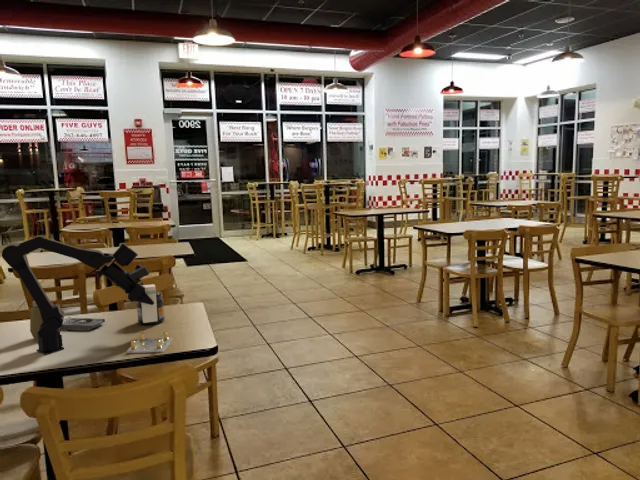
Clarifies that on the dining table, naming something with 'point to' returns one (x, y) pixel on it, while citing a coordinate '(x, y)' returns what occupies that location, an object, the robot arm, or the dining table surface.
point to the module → (149, 310)
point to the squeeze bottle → (35, 320)
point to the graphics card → (80, 323)
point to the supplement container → (159, 310)
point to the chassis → (149, 344)
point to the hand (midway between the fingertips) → (152, 302)
